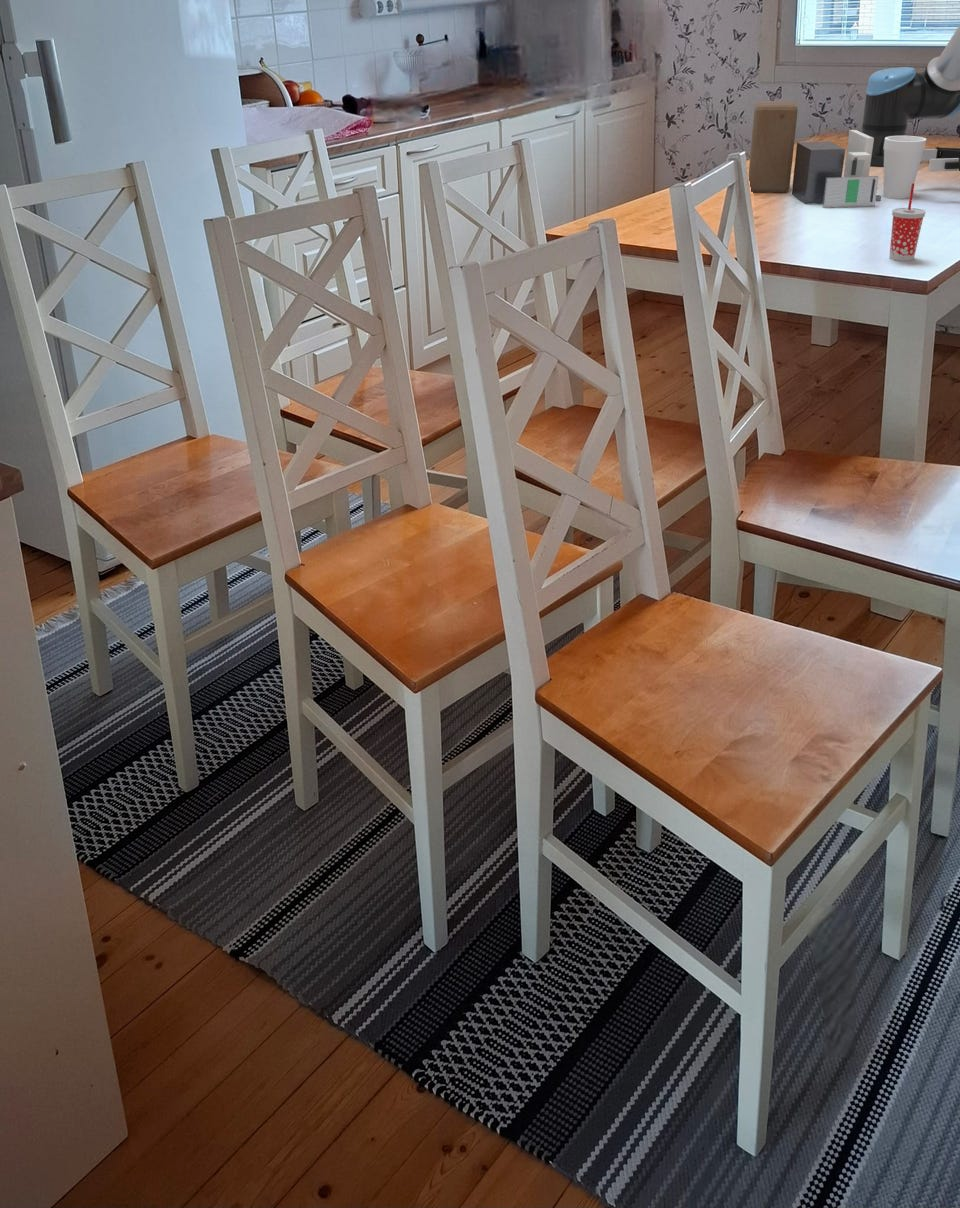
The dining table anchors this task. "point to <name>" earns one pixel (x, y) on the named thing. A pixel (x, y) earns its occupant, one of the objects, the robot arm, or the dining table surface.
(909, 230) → the beverage cup
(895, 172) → the foam cup
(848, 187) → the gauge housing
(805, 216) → the dining table surface
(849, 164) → the gauge slider
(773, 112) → the wooden block
